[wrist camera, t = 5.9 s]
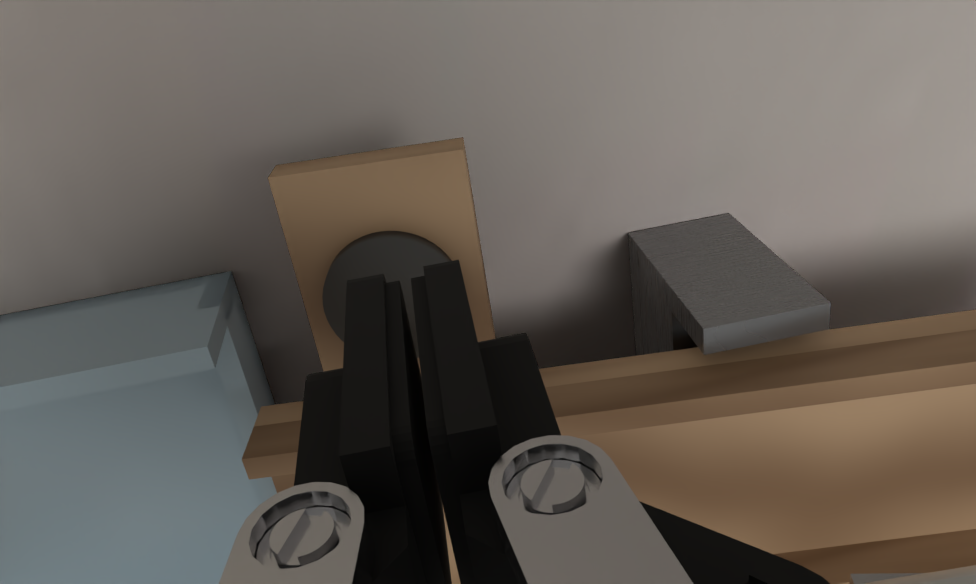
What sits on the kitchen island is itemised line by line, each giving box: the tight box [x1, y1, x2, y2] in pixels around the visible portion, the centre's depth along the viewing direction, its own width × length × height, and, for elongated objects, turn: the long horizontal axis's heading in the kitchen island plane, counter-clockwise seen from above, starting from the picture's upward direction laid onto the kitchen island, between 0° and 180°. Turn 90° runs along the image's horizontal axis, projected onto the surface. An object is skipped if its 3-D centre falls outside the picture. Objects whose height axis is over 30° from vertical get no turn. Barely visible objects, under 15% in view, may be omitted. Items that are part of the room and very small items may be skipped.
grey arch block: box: [628, 213, 831, 356], centre depth 23 cm, size 9×3×6 cm, turn 8°
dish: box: [0, 271, 277, 584], centre depth 22 cm, size 12×14×4 cm
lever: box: [242, 137, 976, 584], centre depth 19 cm, size 13×24×4 cm, turn 98°
